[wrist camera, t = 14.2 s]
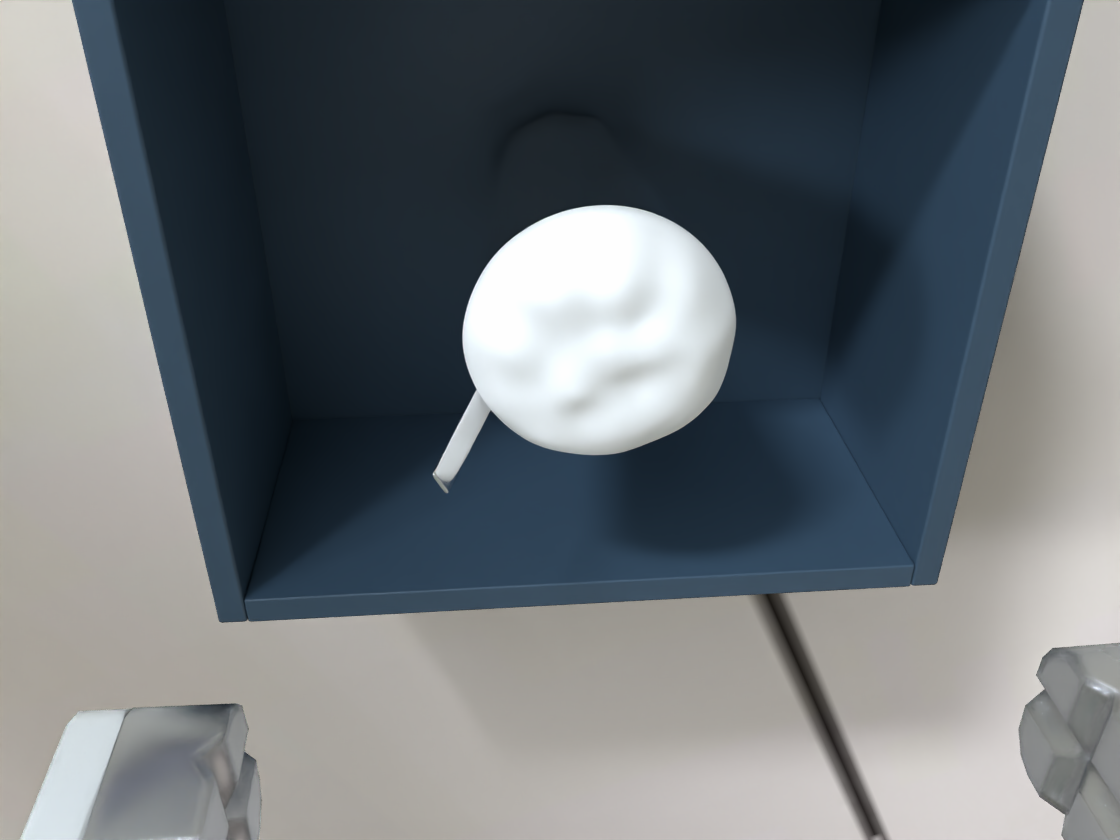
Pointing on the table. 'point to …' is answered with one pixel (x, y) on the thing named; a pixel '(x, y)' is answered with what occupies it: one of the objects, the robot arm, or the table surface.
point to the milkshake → (587, 301)
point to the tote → (453, 251)
